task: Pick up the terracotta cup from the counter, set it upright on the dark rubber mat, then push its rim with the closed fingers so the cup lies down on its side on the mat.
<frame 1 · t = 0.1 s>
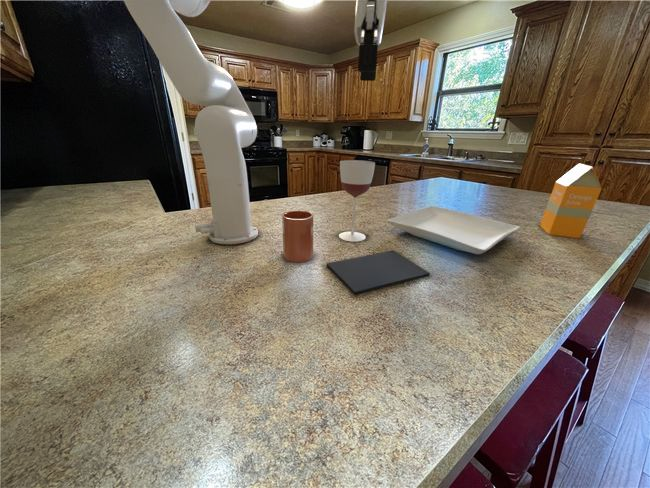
hand: (367, 76, 53), 37 cm above the worktop, tool pointing down, fingers open, 9 cm apart
wineglass: (352, 237, 75), on the worktop
square plate: (450, 234, 78), on the worktop
cup: (298, 255, 63), on the worktop
mat: (376, 270, 57), on the worktop
orange juice: (558, 232, 83), on the worktop
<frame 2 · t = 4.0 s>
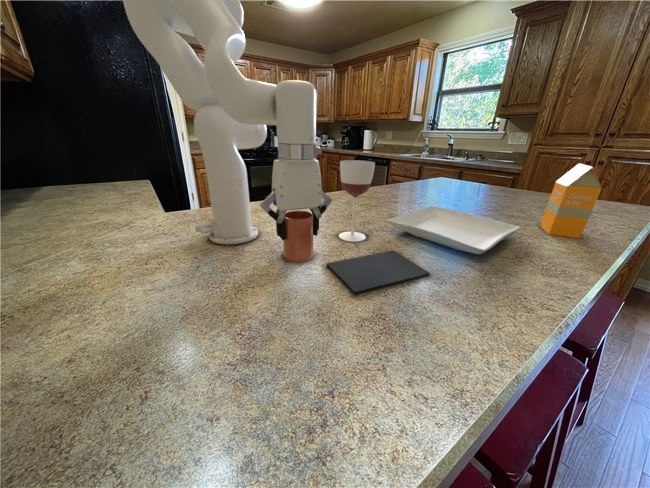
hand: (298, 235, 61), 5 cm above the worktop, tool pointing down, fingers closed on cup, 6 cm apart
cup: (298, 255, 63), on the worktop, touching gripper
everything else where it was.
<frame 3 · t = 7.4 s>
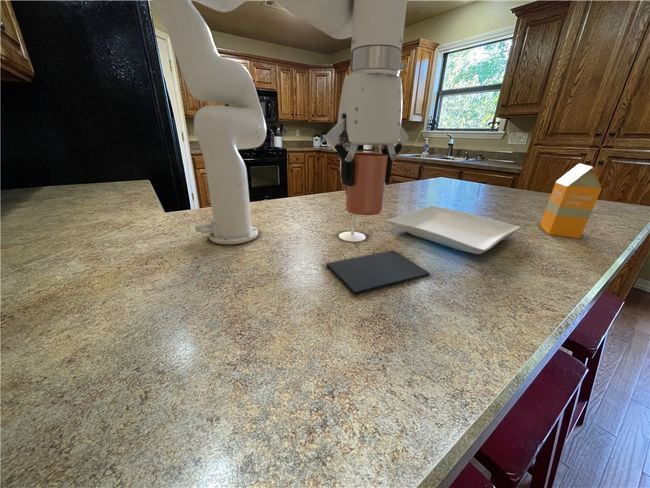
hand: (365, 182, 48), 19 cm above the worktop, tool pointing down, fingers closed on cup, 6 cm apart
cup: (363, 210, 50), point 14 cm above the worktop, touching gripper
everything else where it was.
when the fingers open (6 cm above the worktop, at t = 10.8 s): cup stays where it is, resting on mat.
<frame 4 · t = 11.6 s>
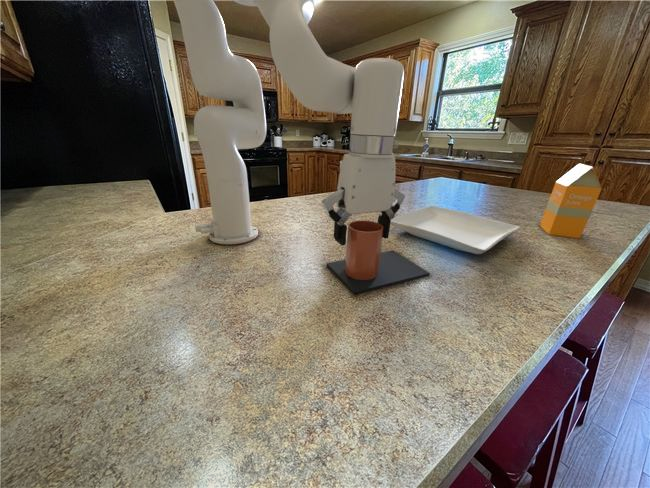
hand: (361, 239, 52), 8 cm above the worktop, tool pointing down, fingers open, 9 cm apart
cup: (361, 271, 55), point 1 cm above the worktop, touching mat
everything else where it was.
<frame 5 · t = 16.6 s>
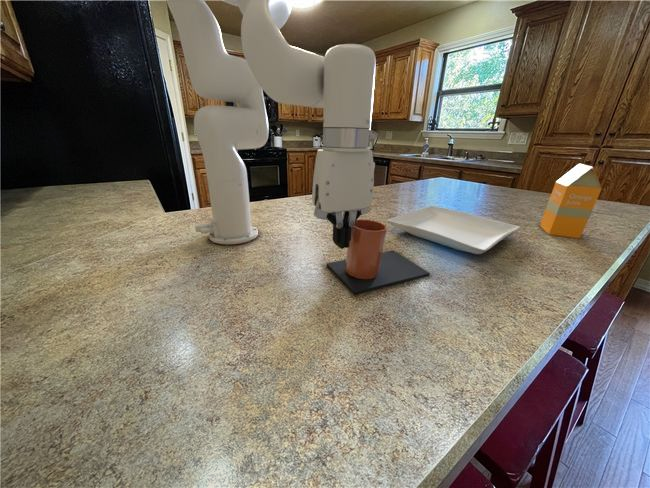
hand: (341, 245, 50), 7 cm above the worktop, tool pointing down, fingers closed
cup: (361, 270, 55), point 1 cm above the worktop, touching gripper, mat
everything else where it was.
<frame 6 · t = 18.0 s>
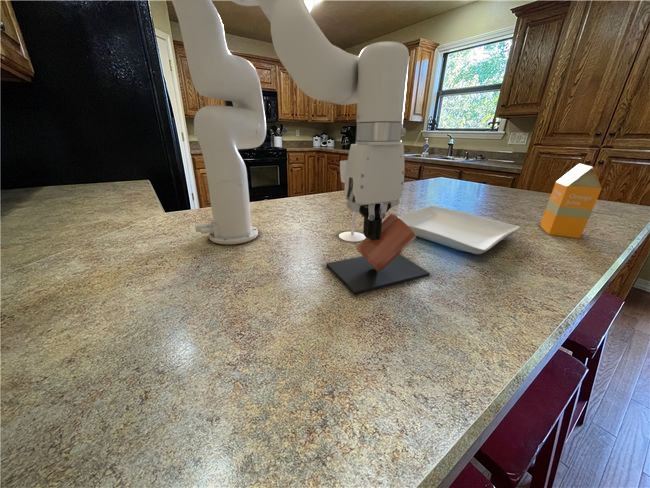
hand: (371, 237, 52), 8 cm above the worktop, tool pointing down, fingers closed
cup: (367, 260, 54), point 3 cm above the worktop, tilted 47°, touching gripper, mat
everything else where it was.
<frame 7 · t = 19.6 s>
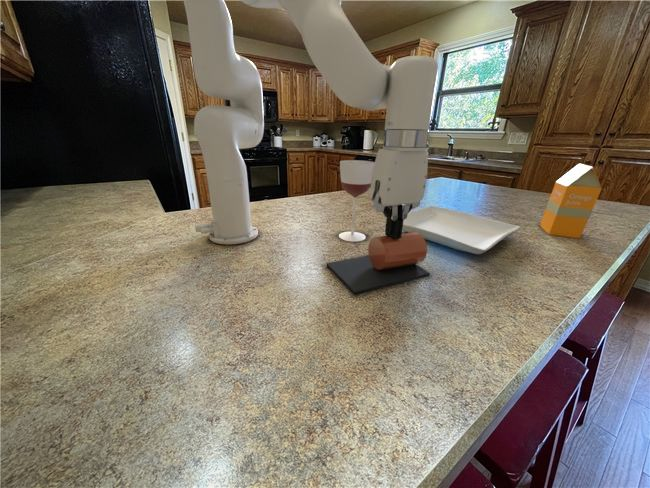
hand: (392, 236, 55), 7 cm above the worktop, tool pointing down, fingers closed
cup: (376, 253, 55), point 4 cm above the worktop, tilted 90°, touching gripper, mat
everything else where it was.
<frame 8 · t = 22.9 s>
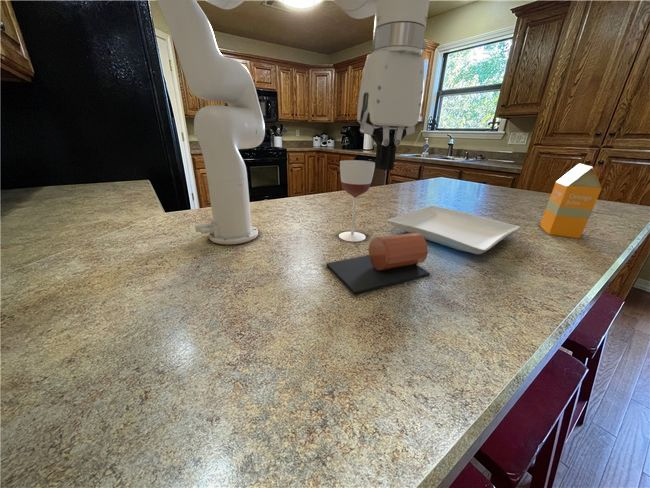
hand: (384, 168, 48), 21 cm above the worktop, tool pointing down, fingers closed
cup: (376, 254, 55), point 4 cm above the worktop, tilted 90°, touching mat
everything else where it was.
at the end: cup tilted 90°; cup inside the target area on the mat (0.5 cm from its centre), point 4.0 cm above the mat's base; the gripper is holding nothing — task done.
